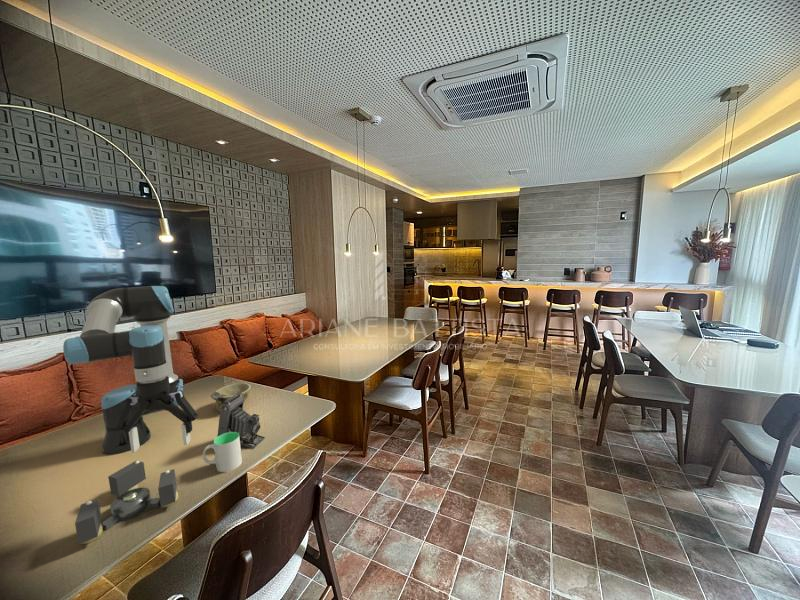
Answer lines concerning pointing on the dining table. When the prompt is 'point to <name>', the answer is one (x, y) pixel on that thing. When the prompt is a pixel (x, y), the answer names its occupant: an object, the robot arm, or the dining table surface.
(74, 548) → the dining table surface
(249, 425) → the camera
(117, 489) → the grey block with dot
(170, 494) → the knob
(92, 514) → the knob
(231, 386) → the bowl
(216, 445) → the mug
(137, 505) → the level base
